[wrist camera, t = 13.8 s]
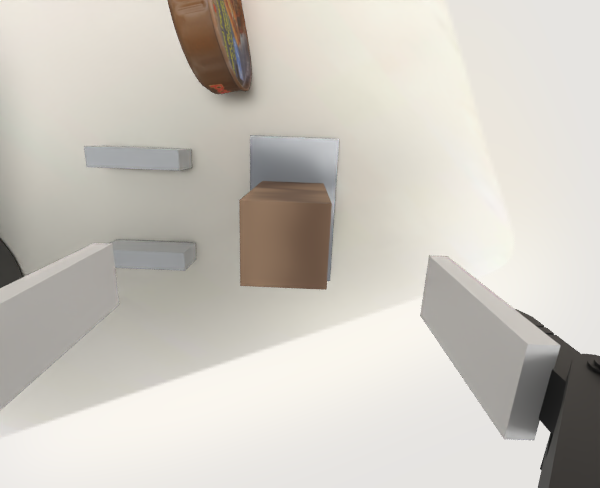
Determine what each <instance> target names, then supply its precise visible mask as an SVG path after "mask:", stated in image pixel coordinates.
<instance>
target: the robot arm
mask: <svg viewBox="0 0 600 488" xmlns="http://www.w3.org/2000/svg"><path fill="white" fill-rule="evenodd" d="M118 305H119V296H118V288H117V279H116V271H115V262H114V254H113V245H112V244H109V243H93V244H91V245H88V246H86V247H84V248H82V249H80V250H78V251H76V252H74V253H72V254H70V255H68V256H66V257H64V258H62V259H60V260H58V261H56V262H53V263H51V264H49V265H47V266H45V267H43V268H41V269H39V270H37V271H35V272H33V273H31V274H29V275H27V276H25V277H23V278H22V275H21V272H20V270H19V267H18V265H17V263H16V261H15V259H14V258H13V256H12V255H11V253H10V251H9V250H8V249H7V247H6V246H5V245H4V244H3V242H2V241H1V240H0V410H1V409H3V408H4V407H5V406H6V405H7V404H8V403H9V402H10V401H12V400H13V399H14V398H15V397H16V396H17V395H18V394H19V393H21V392H22V391H23V390H24V389H25V388H26V387H27V386H28V385H29V384H31V383H32V382H33V381H34V380H35V379H36V378H37V377H38V376H40V375H41V374H42V373H43V372H44V371H45V370H46V369H47V368H49V367H50V366H51V365H52V364H53V363H54V362H55V361H56V360H58V359H59V358H60V357H61V356H62V355H63V354H64V353H65V352H67V351H68V350H69V349H70V348H71V347H72V346H73V345H74V344H76V343H77V342H78V341H79V340H80V339H81V338H82V337H83V336H85V335H86V334H87V333H88V332H89V331H90V330H91V329H92V328H94V327H95V326H96V325H97V324H98V323H99V322H100V321H101V320H102V319H104V318H105V317H106V316H107V315H108V314H109V313H110V312H111V311H113V310H114V309H115V308H116V307H117V306H118ZM420 316H421V317H422V319H423V320H424V322H425V323H426V325H427V326H428V328H429V329H430V330H431V332H432V334H433V335H434V336H435V338H436V339H437V341H438V342H439V344H440V345H441V347H442V348H443V350H444V351H445V353H446V354H447V356H448V357H449V359H450V360H451V361H452V363H453V364H454V366H455V367H456V369H457V370H458V372H459V373H460V375H461V376H462V378H463V379H464V381H465V382H466V384H467V385H468V386H469V388H470V390H471V391H472V392H473V394H474V395H475V397H476V398H477V400H478V401H479V403H480V404H481V406H482V407H483V409H484V410H485V411H486V413H487V414H488V416H489V417H490V419H491V420H492V422H493V423H494V425H495V426H496V428H497V429H498V431H499V432H500V434H501V435H502V436H503V438H504V439H513V440H534V439H535V435H536V432H537V428H538V424H539V421H541V422H542V423H543V424H544V425H545V426H546V428H547V429H548V430H549V431H550V432H551V433H550V437H549V441H548V444H547V447H546V451H545V454H544V458H543V461H542V464H541V468H540V469H541V470H542V471H541V475H540V480H539V485H538V488H600V356H597V355H591V354H580V353H579V352H578V351H576V350H575V349H574V348H572V347H571V346H570V345H568V344H567V343H566V342H564V341H563V340H562V339H560V338H559V337H558V336H557V335H554V333H553V332H551V331H550V330H549V329H548V328H545V327H544V325H542V324H541V323H540V322H538V321H537V320H536V319H534V318H533V317H531V316H529V315H527V314H525V313H523V312H521V311H519V310H517V309H514V308H512V307H511V306H510V305H509V304H507V303H506V302H505V301H503V300H502V299H501V298H499V297H498V296H497V295H496V294H495V293H493V292H492V291H491V290H490V289H488V288H487V287H486V286H485V285H483V284H482V283H481V282H480V281H478V280H477V279H476V278H474V277H473V276H472V275H471V274H469V273H468V272H467V271H466V270H464V269H463V268H462V267H461V266H459V265H458V264H457V263H455V262H454V261H453V260H452V259H450V258H449V257H448V256H429V260H428V267H427V273H426V280H425V287H424V294H423V300H422V308H421V314H420Z"/></svg>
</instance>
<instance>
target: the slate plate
mask: <svg viewBox="0 0 600 488" xmlns="http://www.w3.org/2000/svg"><path fill="white" fill-rule="evenodd" d="M338 150H339V139H330V138H304V137H279V136H253V135H250V191H251V190H252V189H253V188H255V187H256V186H257V185H258V184H259V183H260V182H262V181H276V182H301V183H324V186H325V188H326V191H327V193H328V196H329V198H330V201H331V203H332V209H331V225H330V241H329V257H328V273H327V281H330V271H331V256H332V241H333V226H334V210H335V195H336V180H337V165H338Z"/></svg>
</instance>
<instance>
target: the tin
mask: <svg viewBox="0 0 600 488" xmlns="http://www.w3.org/2000/svg"><path fill="white" fill-rule="evenodd" d="M168 4H169V8H170V12H171V16H172V20H173V23H174V27H175V30H176V33H177V36H178V39H179V41H180V44H181V47H182V50H183V52H184V54H185V56H186V59H187V61H188V63H189V65H190V67H191V69H192V71H193V73H194V74H195V76H196V77H197V79H198V80H199V82H200V83H201V84H202V85H203V86H204V87H206V88H207V89H209V90H210V91H211V92H213V93H215V94H223V93H229V92H234V91H239V90H243V91H247V90H249V88H250V84H251V75H252V69H251V57H250V51H249V43H248V37H247V32H246V27H245V21H244V15H243V10H242V4H241V0H168Z"/></svg>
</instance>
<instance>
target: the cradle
mask: <svg viewBox="0 0 600 488" xmlns="http://www.w3.org/2000/svg"><path fill="white" fill-rule="evenodd" d="M84 150H85V158H86V165H87V167H103V168H128V169H153V170H178V171H180V170H184V169H189V168H192V157H191V149H175V148H149V147H124V146H84ZM109 244H112V245H113V254H114V262H115V268H136V269H159V270H183V271H185V270H186V269H187V268H188V267H189V266H190V265H191V264H192V263H193V262H194V261H195V260H196V243H189V242H165V241H141V240H115V241H113V242H111V243H109Z"/></svg>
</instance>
